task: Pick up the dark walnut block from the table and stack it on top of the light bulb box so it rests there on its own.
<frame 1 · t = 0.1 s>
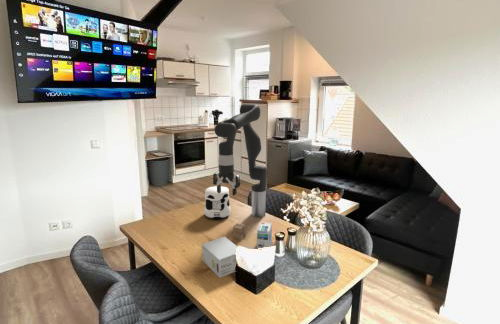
hand: (226, 193, 148), 29 cm above the table, fingers open, 8 cm apart
supplement box: (222, 265, 138), on the table
walnut block: (239, 237, 164), on the table
light bulb box: (264, 245, 156), on the table
milk container: (217, 215, 193), on the table
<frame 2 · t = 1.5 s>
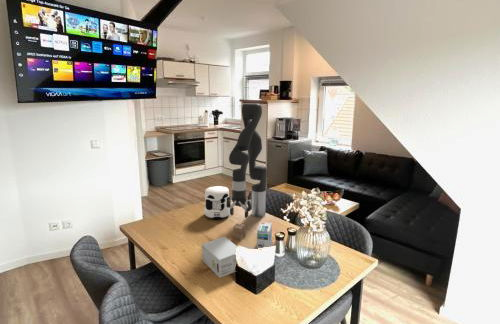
hand: (239, 216, 161), 13 cm above the table, fingers open, 8 cm apart
nothing on the table moved.
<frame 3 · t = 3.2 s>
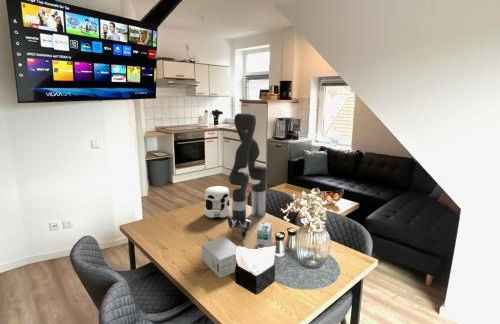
hand: (239, 235, 164), 1 cm above the table, fingers closed on walnut block, 5 cm apart
walnut block: (239, 237, 164), on the table, touching gripper
everything else where it was.
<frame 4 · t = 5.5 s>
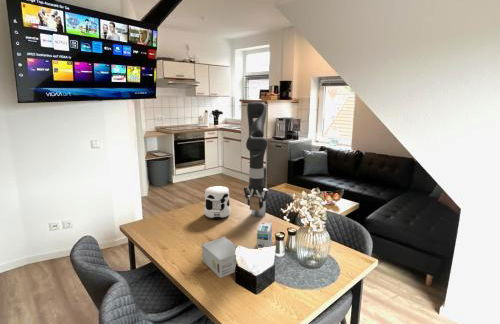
hand: (256, 206, 153), 21 cm above the table, fingers closed on walnut block, 5 cm apart
walnut block: (255, 208, 153), point 20 cm above the table, touching gripper
everything else where it was.
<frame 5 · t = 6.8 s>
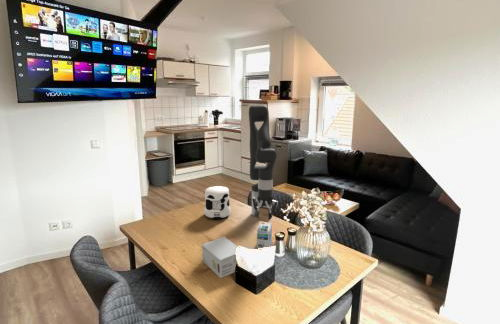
hand: (264, 217, 152), 16 cm above the table, fingers closed on walnut block, 5 cm apart
walnut block: (264, 219, 152), point 15 cm above the table, touching gripper
everything else where it was.
when the fingers open (13 cm above the table, at t = 7.8 s): walnut block stays where it is, resting on light bulb box.
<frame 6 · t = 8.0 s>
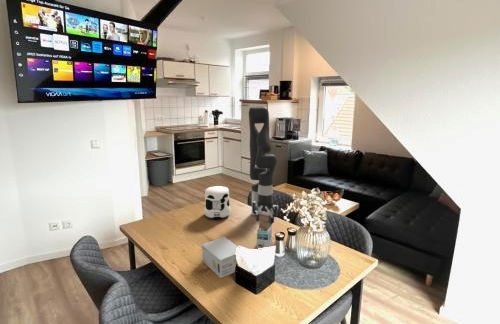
hand: (264, 222, 153), 13 cm above the table, fingers open, 7 cm apart
walnut block: (265, 226, 153), point 11 cm above the table, touching light bulb box
light bulb box: (264, 245, 156), on the table, touching walnut block
everything else where it was.
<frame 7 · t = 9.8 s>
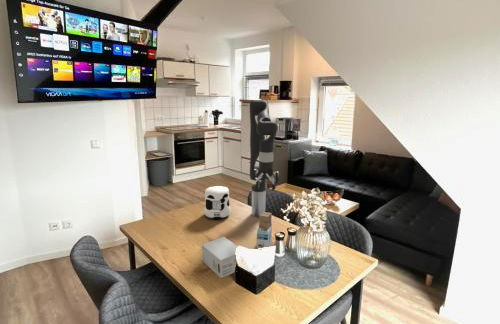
hand: (265, 189, 156), 29 cm above the table, fingers open, 8 cm apart
nothing on the table moved.
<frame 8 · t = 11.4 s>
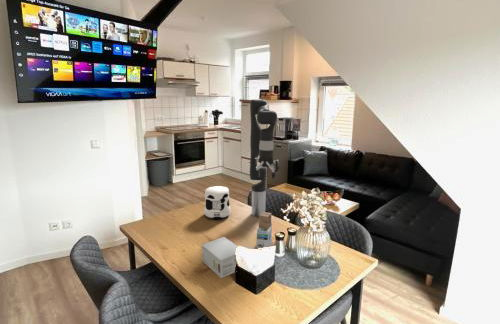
hand: (265, 177, 159), 34 cm above the table, fingers open, 8 cm apart
nothing on the table moved.
at the end: walnut block inside the target area on the light bulb box (0.2 cm from its centre), point 11.0 cm above the light bulb box's base; walnut block tilted 0°; the gripper is holding nothing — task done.
